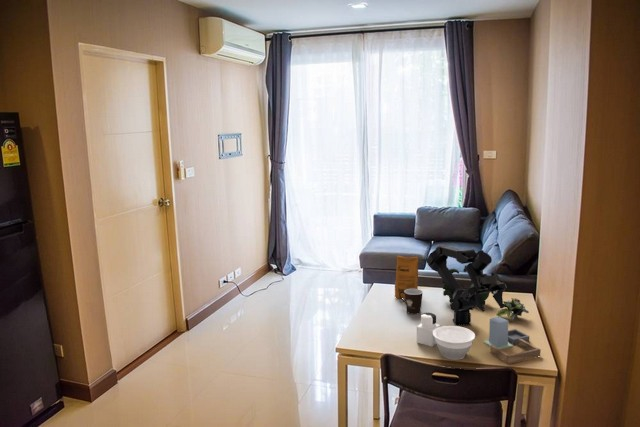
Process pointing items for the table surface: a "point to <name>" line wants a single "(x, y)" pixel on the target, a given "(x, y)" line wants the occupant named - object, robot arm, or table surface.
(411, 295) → the coffee mug
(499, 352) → the brown wooden tray
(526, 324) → the table surface
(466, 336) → the bowl
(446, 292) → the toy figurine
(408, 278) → the coffee package
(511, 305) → the green leafy cluster
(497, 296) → the robot arm
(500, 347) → the pad
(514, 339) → the trap tray
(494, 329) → the block
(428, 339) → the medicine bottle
